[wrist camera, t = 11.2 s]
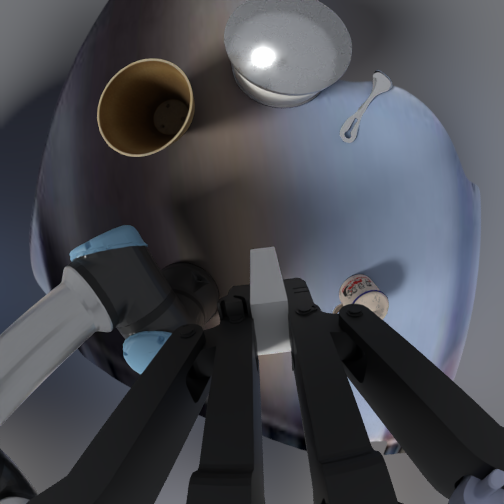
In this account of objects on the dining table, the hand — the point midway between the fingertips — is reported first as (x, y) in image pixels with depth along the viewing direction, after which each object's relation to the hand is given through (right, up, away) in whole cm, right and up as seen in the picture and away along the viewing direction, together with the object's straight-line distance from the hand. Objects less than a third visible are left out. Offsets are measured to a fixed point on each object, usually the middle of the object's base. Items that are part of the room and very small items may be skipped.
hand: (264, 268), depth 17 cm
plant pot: (-16, +27, +29) cm, 43 cm away
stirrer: (+22, +31, +28) cm, 47 cm away
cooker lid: (+5, +34, +13) cm, 36 cm away
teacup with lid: (+22, -8, +42) cm, 48 cm away
